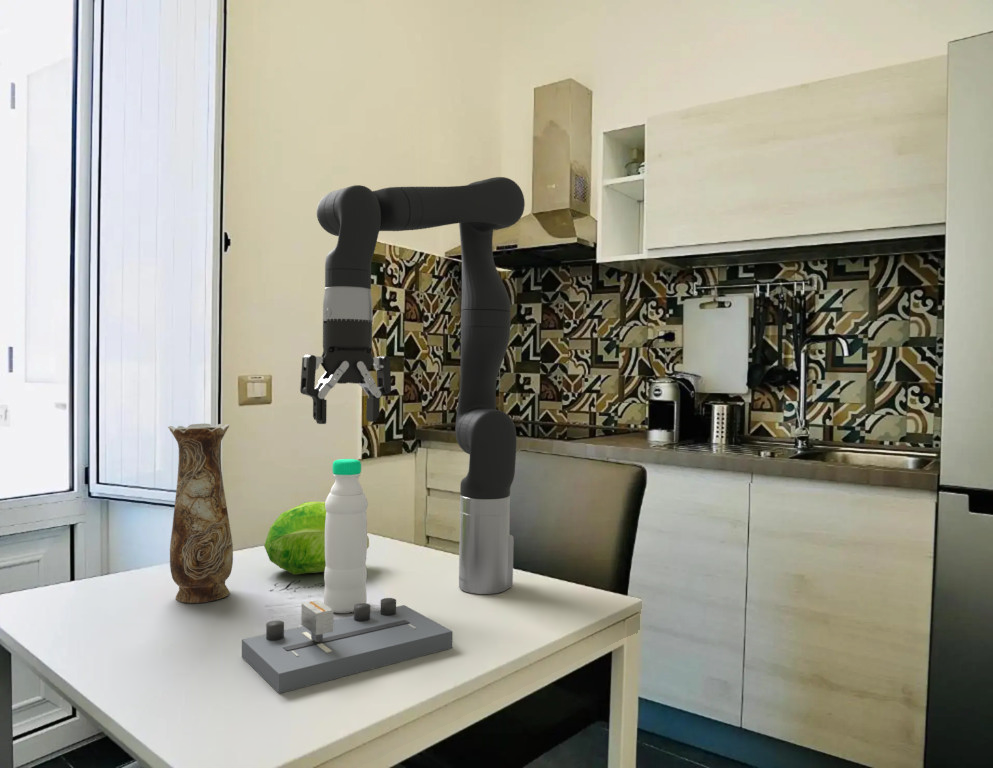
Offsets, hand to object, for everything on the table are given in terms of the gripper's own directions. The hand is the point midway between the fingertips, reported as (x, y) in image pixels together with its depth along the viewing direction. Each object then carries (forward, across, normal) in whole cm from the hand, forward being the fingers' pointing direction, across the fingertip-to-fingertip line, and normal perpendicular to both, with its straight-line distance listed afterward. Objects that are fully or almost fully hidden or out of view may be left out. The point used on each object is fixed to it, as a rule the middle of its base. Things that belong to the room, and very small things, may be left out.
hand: (346, 422), depth 115 cm
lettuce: (+32, -9, -31) cm, 46 cm away
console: (+32, +4, +10) cm, 34 cm away
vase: (+32, +14, -28) cm, 45 cm away
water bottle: (+32, -4, -8) cm, 33 cm away
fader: (+29, +9, +10) cm, 32 cm away
